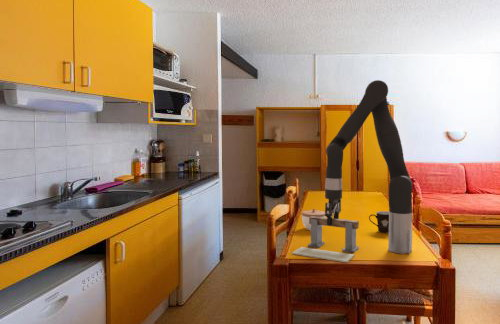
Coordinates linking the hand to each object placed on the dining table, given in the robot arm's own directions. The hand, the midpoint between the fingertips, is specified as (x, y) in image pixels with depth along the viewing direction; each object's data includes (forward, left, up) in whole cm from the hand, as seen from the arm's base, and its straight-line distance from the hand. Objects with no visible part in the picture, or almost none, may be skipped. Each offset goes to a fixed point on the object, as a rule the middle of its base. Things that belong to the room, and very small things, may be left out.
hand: (332, 223), depth 187 cm
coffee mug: (-12, -42, -11) cm, 45 cm away
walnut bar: (0, 0, -1) cm, 1 cm away
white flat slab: (0, +13, -11) cm, 17 cm away
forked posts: (0, 0, -11) cm, 11 cm away
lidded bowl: (+21, -29, -11) cm, 37 cm away
